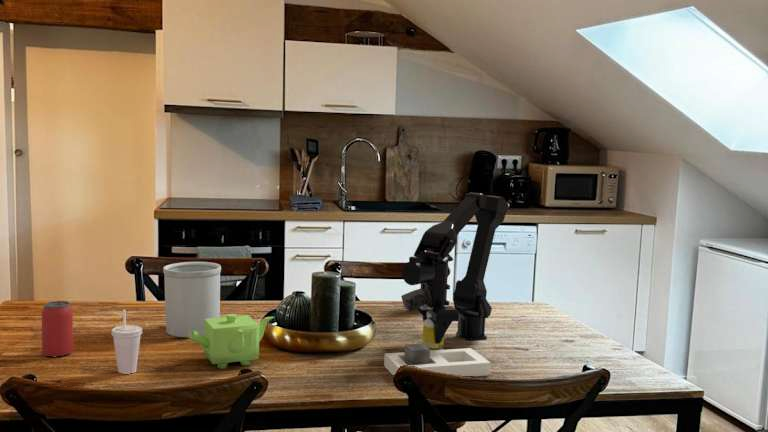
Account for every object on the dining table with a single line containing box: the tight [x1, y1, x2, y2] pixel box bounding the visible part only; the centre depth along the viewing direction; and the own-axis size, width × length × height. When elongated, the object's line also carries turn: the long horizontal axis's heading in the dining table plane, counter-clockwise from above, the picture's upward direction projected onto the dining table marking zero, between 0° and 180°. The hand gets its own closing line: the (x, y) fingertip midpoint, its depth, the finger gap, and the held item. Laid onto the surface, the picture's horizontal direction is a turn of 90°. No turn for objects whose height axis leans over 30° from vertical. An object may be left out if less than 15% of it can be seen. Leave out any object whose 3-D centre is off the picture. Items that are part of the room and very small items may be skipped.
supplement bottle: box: [421, 310, 445, 351], centre depth 176 cm, size 5×5×10 cm
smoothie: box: [111, 308, 143, 375], centre depth 152 cm, size 6×6×14 cm
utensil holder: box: [162, 261, 222, 338], centre depth 185 cm, size 15×15×18 cm
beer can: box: [41, 300, 74, 357], centre depth 162 cm, size 7×7×12 cm
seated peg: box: [404, 343, 430, 365], centre depth 159 cm, size 4×4×6 cm
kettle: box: [188, 313, 275, 369], centre depth 161 cm, size 15×14×11 cm
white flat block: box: [383, 347, 492, 377], centre depth 161 cm, size 22×11×3 cm, turn 108°
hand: (433, 340), depth 177 cm, fingers closed on supplement bottle, 5 cm apart
